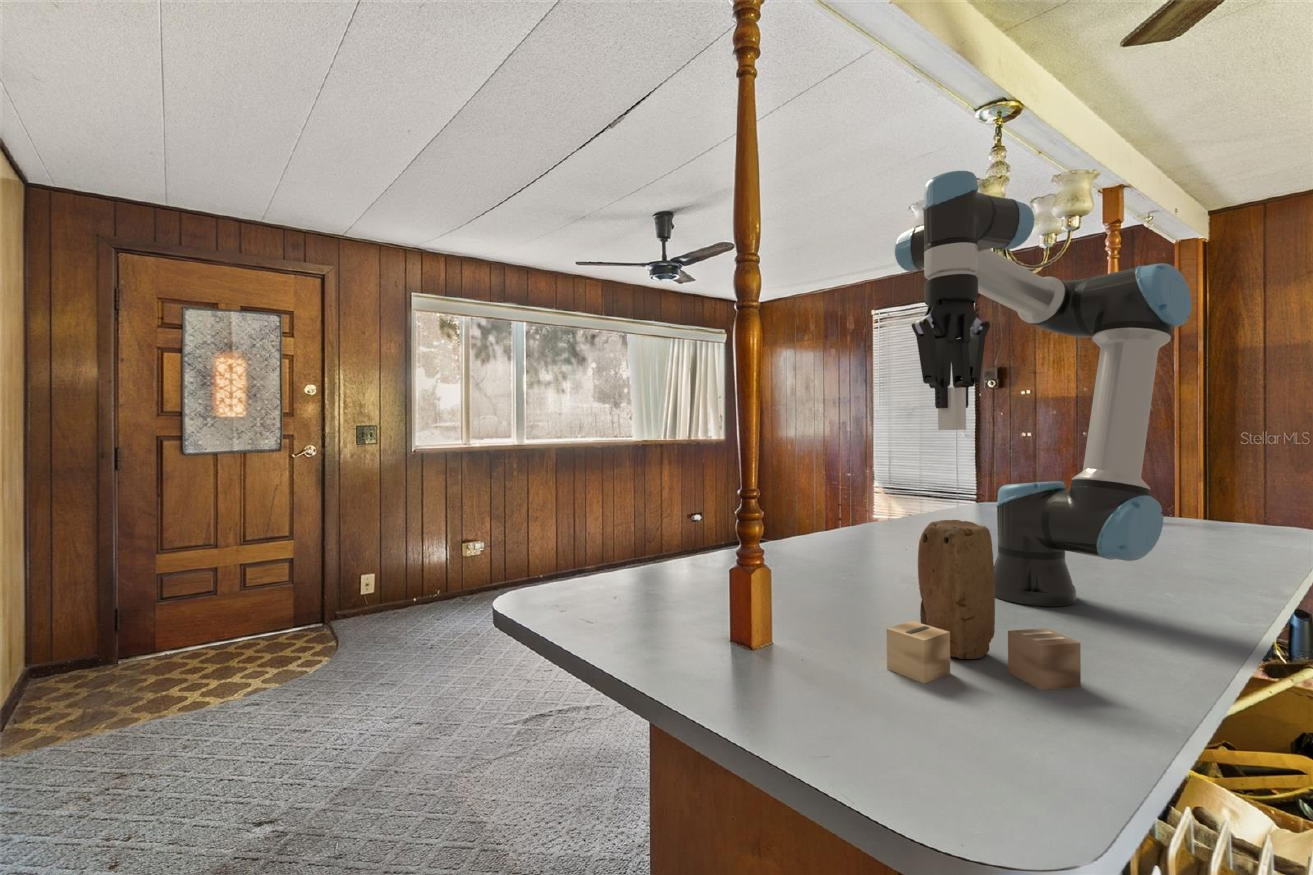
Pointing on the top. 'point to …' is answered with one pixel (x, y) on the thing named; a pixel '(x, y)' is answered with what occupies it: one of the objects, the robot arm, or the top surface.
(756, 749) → the top surface
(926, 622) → the block
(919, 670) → the cube one stripe
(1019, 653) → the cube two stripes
